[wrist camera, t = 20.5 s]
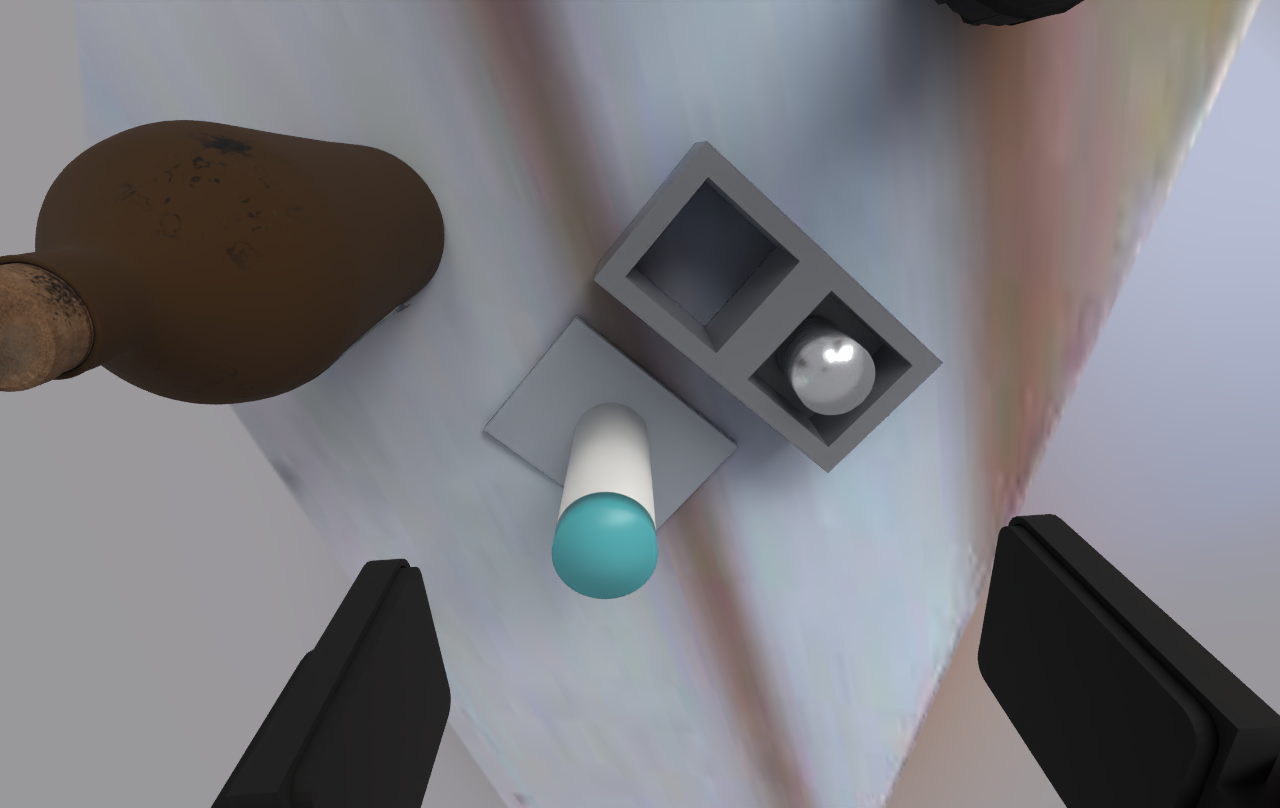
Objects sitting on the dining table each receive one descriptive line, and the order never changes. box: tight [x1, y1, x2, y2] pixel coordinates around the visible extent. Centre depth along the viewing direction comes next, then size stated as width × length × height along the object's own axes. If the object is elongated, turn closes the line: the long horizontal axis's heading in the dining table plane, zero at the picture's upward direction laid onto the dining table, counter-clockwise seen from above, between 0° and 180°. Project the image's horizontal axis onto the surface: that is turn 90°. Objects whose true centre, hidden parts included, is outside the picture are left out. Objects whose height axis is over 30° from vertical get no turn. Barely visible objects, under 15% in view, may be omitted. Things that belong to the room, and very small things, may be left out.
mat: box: [484, 315, 738, 530], centre depth 44 cm, size 14×10×1 cm
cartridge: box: [552, 403, 658, 599], centre depth 37 cm, size 5×5×14 cm
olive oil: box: [0, 120, 444, 404], centre depth 28 cm, size 11×11×25 cm
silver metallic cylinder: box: [776, 318, 875, 415], centre depth 38 cm, size 4×4×5 cm
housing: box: [594, 141, 943, 473], centre depth 38 cm, size 18×9×6 cm, turn 50°
